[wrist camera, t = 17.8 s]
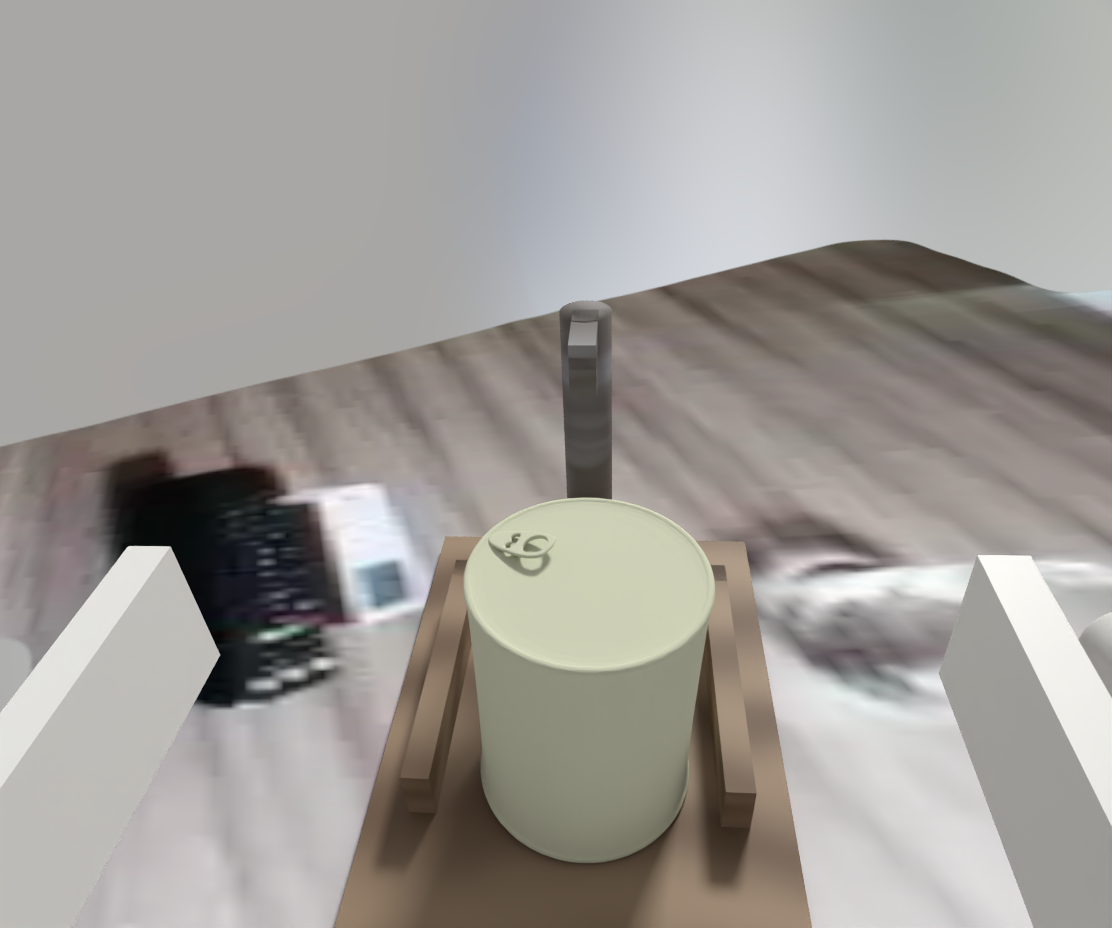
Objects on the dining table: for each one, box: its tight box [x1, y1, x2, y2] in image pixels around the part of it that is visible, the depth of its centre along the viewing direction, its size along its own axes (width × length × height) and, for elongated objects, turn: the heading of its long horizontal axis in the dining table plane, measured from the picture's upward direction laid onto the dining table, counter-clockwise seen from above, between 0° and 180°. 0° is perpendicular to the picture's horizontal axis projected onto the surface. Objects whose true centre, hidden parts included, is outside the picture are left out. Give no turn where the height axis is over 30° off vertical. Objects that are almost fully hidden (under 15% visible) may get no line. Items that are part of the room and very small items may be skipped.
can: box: [463, 498, 715, 863], centre depth 32 cm, size 9×9×12 cm
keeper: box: [334, 301, 812, 928], centre depth 35 cm, size 23×18×17 cm
